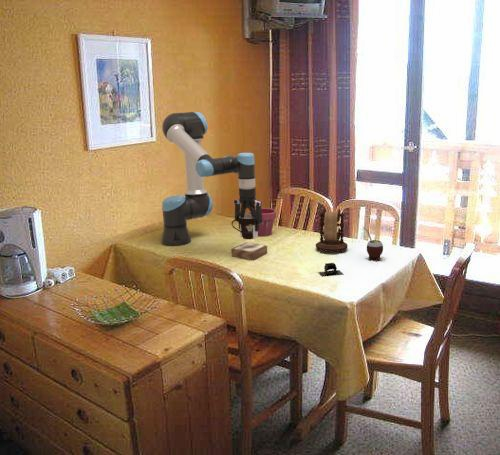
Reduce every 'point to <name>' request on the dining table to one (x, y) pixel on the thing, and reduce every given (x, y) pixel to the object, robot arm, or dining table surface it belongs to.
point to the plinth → (249, 251)
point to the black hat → (330, 273)
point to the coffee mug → (246, 226)
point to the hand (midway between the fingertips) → (249, 237)
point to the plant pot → (266, 221)
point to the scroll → (331, 232)
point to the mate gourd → (374, 248)
